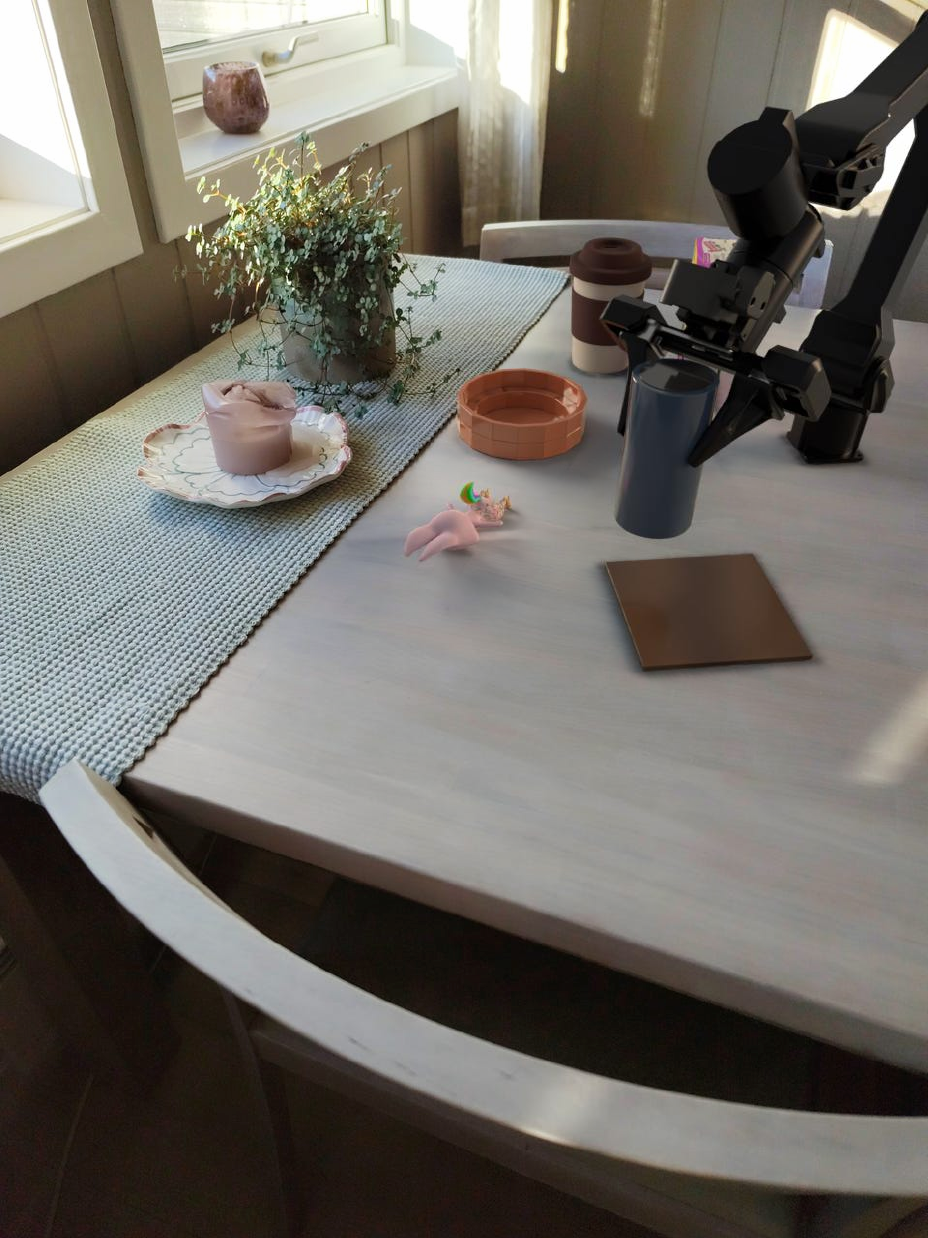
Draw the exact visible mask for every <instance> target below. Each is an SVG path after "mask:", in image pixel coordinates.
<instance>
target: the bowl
mask: <svg viewBox="0 0 928 1238" xmlns="http://www.w3.org/2000/svg"><path fill="white" fill-rule="evenodd" d="M456 396H457V397H456V398H457V401H456V402H457V403H456V404H457V405H456V406H457V407H456V408H457V411H456V412H457V417H456V418H457V419H456V420H457V430H458V434H459V435H458V436H459V438H460V439H461V440H462V441H464V442H465V443H466V445H467V446H469V447H470V448H471V449H473V450H476V451H478V452H480V453H483V454H485V455H488V456H491V457H494V458H500V459H506V460H507V459H508V460H513V461H527V460H529V461H530V460H545V459H547V458H551V457H555V456H558V455H559V456H560V455H562V454H565V453H567V452H568V451H570V450H571V449H572V448H574V447H575V446H577V445H579V444H580V442H581V440H582V438H583V435H584V433H585V427H586V416H587V408H588V398H587V395H586V393H585V391H584V389H583V387H582V386H580V385H579V384H578V383H577V382H575V381H573V379H571V378H569V377H566V376H563V375H560V374H557V373H555V372H551V371H548V370H542V369H541V370H540V369H535V368H534V369H533V368H525V367H523V368H502V369H501V368H500V369H497V370H491V371H488V372H483V373H480V374H478V375H476V376H474V377H472V378H470V379H468V380H466V381H465V382H464V383H463V384H462V386H461V387H460V388H459V390H458V392H457V395H456Z"/></svg>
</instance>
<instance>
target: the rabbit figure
mask: <svg viewBox="0 0 928 1238" xmlns="http://www.w3.org/2000/svg"><path fill="white" fill-rule="evenodd" d="M474 484H475V482H474V481H473V482H472V481H471V482H468V483H466V484H465V485H464V486H463V487H462V489H461V491H460V494H459V497H460V499H461V501H462V502H463V503H464V504H466V509H467V510H466V511H465V512H463V511H460V510H457V509H455V508H454V505H453V504H452V503H451V502H448V503H447V504H446V508H447V510H444V511H443V510H442V511H441V512H439V513H438V514H436V515H434V516H433V518H431V520H430V522H429V523H428V524H426V525H420V526H418V527H416V528H414V529H413V530H412V531H411V532H409V534H408V535H407V537H406V539H405V542H404V543H405V544H404V556H405V557H410V556H411V555H413V554H414V553H415V552H417V551H418V550H420V549H422V547H424V546H425V548H424V550H423V551H422V553H421V554H420V556H419V558H418V560H417V561H418V562H419V563H420V562H421V563H422V562H424V561H426V560H429V559H430V558H431V557H433V556H434V555H436V554H438V553H439V552H441V551H445V550H446V551H449V552H450V551H452V552H453V551H458V550H462V549H464V548H468V547H471V546H473V545H475V544H477V543H478V542H479V539H480V538H479V537H480V536H479V533H478V531H477V528H493V527H501V526H503V524H504V523H503V521H502V520H501V519H502V517H503V516H504V513H505V508H506V509H510V510H511V509H512V508H511V507H512V505H511V504H512V503H511V499H510V496H511V495H510V494H511V493H509V494H508V496H507V497H505V496H504V497H502V498H501V499H500V500H497V501H496V500H494V499H493V498H490V492H489V489H490V486H488V487H487V488H486V491H485V490H484V489H482V490H480V493H479V492H478V491H476V490H474Z"/></svg>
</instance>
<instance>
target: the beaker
mask: <svg viewBox="0 0 928 1238" xmlns="http://www.w3.org/2000/svg"><path fill="white" fill-rule="evenodd" d="M720 384H721V378H719V376H718V374H717V373H716V372H715V371H714V370H712V369H711V368H709V367H707V366H705V365H703V364H700V363H698V362H694V361H690V360H684V359H677V357H676V358H673V357H670V358H669V357H665V358H662V359H654V360H649V361H646V362H643V363H641V364H639V365H638V366H636V367H635V368H634V370H633V372H632V378H631V386H630V394H629V401H628V409H627V416H626V424H625V432H624V437H623V440H622V449H621V455H620V462H619V471H618V478H617V485H616V494H615V501H614V509H613V517H614V520H615V522H616V524H617V525H618V526H619V527H620V528H621V529H623V530H624V531H626V532H628V533H630V534H631V535H634V536H637V537H640V538H645V539H650V540H667V539H673V538H676V537H679V536H681V535H683V534H684V533H686V532H687V531H688V530H689V529H690V527H691V526H692V523H693V517H694V512H695V508H696V503H697V498H698V493H699V488H700V483H701V478H702V474H703V469H704V465H705V464H704V463H705V462H704V463H702V464H701V465H700V466H698V467H697V468H693V467H691V466H690V465H689V463H688V461H689V459H690V457H691V455H692V453H693V451H694V449H695V447H696V445H697V443H698V442H699V440H700V439H701V437H702V435H703V434H704V432H705V431H706V429H707V428H708V426H709V425H710V423H711V422H712V420H713V419H714V414H715V409H716V403H717V401H718V399H717V398H718V395H719V390H720Z"/></svg>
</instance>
